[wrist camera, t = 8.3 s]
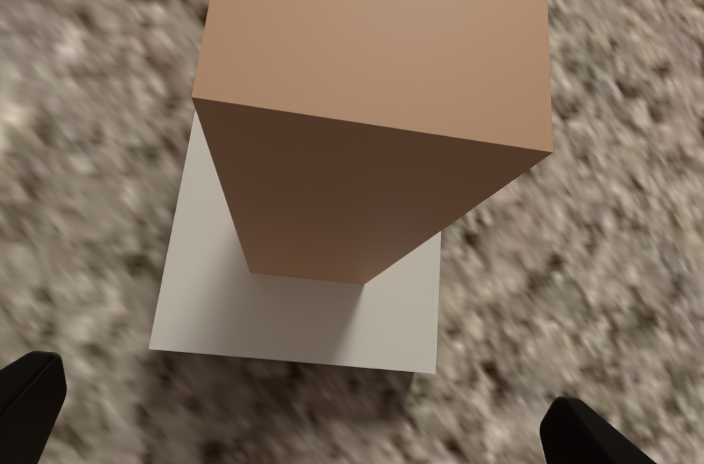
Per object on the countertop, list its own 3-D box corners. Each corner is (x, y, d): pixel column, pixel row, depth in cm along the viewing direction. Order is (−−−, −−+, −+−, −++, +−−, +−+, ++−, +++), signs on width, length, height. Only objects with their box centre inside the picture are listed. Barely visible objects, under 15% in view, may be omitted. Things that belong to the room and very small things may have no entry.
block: (364, 284, 17) (552, 151, 5) (250, 272, 16) (191, 97, 5) (372, 179, 18) (542, -117, 7) (264, 164, 17) (245, -188, 6)
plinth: (415, 370, 19) (435, 373, 17) (165, 348, 18) (148, 349, 15) (426, 150, 22) (444, 125, 19) (209, 116, 20) (200, 85, 18)
